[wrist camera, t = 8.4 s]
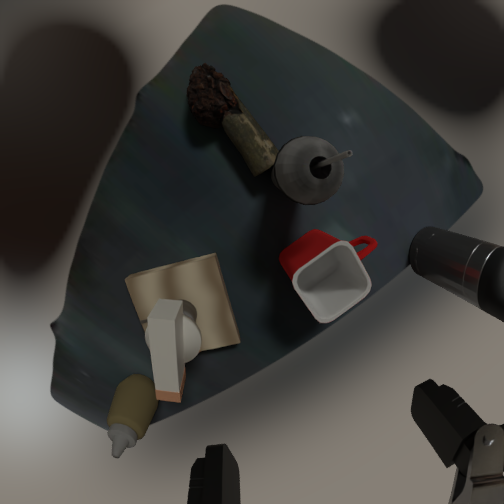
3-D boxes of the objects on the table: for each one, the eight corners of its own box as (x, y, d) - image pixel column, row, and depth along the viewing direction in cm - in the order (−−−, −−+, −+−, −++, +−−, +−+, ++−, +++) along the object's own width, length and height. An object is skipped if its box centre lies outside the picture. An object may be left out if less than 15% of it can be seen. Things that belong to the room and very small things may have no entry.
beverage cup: (250, 176, 38) (270, 162, 19) (284, 140, 37) (335, 98, 18) (287, 210, 39) (340, 232, 20) (320, 175, 39) (396, 167, 19)
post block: (215, 252, 40) (211, 270, 31) (239, 334, 43) (242, 367, 35) (130, 274, 40) (107, 295, 31) (160, 350, 43) (147, 382, 34)
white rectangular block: (144, 293, 31) (127, 315, 25) (202, 297, 32) (196, 322, 26) (151, 367, 33) (140, 397, 27) (202, 373, 34) (198, 404, 28)
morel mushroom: (281, 159, 38) (289, 155, 33) (242, 185, 39) (243, 184, 33) (213, 67, 34) (211, 51, 28) (175, 91, 34) (166, 78, 29)
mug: (301, 296, 43) (321, 328, 32) (272, 255, 41) (286, 277, 30) (362, 252, 42) (397, 271, 31) (337, 208, 40) (370, 216, 30)
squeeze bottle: (146, 405, 46) (125, 474, 28) (114, 380, 44) (82, 446, 27) (170, 388, 45) (152, 463, 28) (137, 361, 43) (104, 433, 26)
